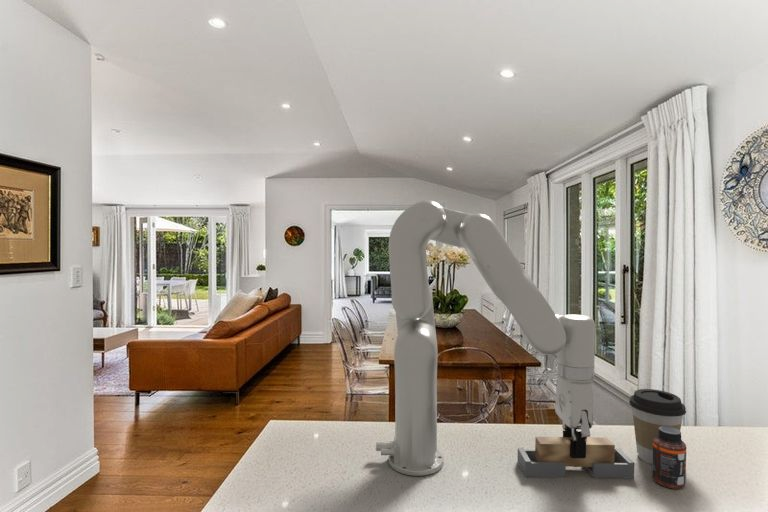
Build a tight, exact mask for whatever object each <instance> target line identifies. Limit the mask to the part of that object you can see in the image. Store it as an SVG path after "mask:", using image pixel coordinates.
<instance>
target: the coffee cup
mask: <svg viewBox="0 0 768 512" xmlns="http://www.w3.org/2000/svg"><path fill="white" fill-rule="evenodd" d="M628 403H629V405H630V406H631V409H632V419H633V427H634V436H635V445H636V453H637V455H638V458H639V459H640V460H641V461H642V462H644V463H646V464H650V465H652V463H653V439H654V437H656V436H658V435H659V434H658V432H659V427H662V426H667V427H672V428H676V429H678V430H679V431H681V428H682V423H683V418H684V415H686V414H687V410H686V406H685V404H684V403H682V399H681V398H680V397H679V396H678V395H677V394H674V393H672V392H668V391H663V390H659V389H652V388H641V389H639V388H638V389H637V390H635V391H634V392H633V394H632V395H631V396H630V397H629V401H628Z"/></svg>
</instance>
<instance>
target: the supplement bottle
mask: <svg viewBox="0 0 768 512" xmlns="http://www.w3.org/2000/svg"><path fill="white" fill-rule="evenodd" d="M658 434H659V435H658V436H656V437H654V439H653V463H652V464H651V465H652V467H651V468H652V469H651V475H652V479H653V480H654V481H655V482H656V483H657V484H659V485H660V486H662V487H665V488H668V489H673V490H681V489H683V488H684V487H685V486H686V481H687V479H686V476H687V445H686V444H687V443H685V442H684V441H683V440H682V431H681V430H680V431H679V430H678V429H676V428H672V427H667V426H662V427H659V432H658Z"/></svg>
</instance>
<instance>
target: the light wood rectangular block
mask: <svg viewBox="0 0 768 512" xmlns="http://www.w3.org/2000/svg"><path fill="white" fill-rule="evenodd" d="M570 439H572V437H563V436H535V443H534V444H535V445H534V447H535V449H534V450H535V459H536V460H537V462H565V463H566V468H567V467H568V468H569V467H572V468H585V467H593V463H614V455H615V449H616V447H615V446H616V445H615V444H614V443H613V442H612V441H611V440H610V439H609V438H608V437H593V436H592V437H591V436H590V437H587V441H586V458H571V457H570Z"/></svg>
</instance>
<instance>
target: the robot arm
mask: <svg viewBox="0 0 768 512" xmlns="http://www.w3.org/2000/svg"><path fill="white" fill-rule="evenodd" d="M501 232H502V231H500V229H499V228H498V225H497V224H496V223H495V221H494V220H493V219H492V218H491V217H490V216H488V215H486V214H484V213H473V214H472V213H468V212H464V211H463V212H462V211H459V210H455V209H451V208H447V207H443V206H442V205H440V204H439V203H438V202H437V201H434V200H430V199H424V200H419V201H416V202H415V203H413V204H411V205H409V207H407V208H406V209H405V210H404V211H403V212H401V214H400V215H399V216H398V217H397V219H396V220H395V222H394V223H393V225H392V227H391V230H390V234H389V237H388V260H389V276H390V277H389V278H390V288H391V290H390V291H391V304H392V305H391V306H392V308H393V310H394V312H395V318H396V327H397V330H396V331H397V336H396V339H395V342H394V343H395V344H394V352H393V355H394V357H393V358H394V359H393V361H394V362H393V363H394V387H395V388H394V390H395V391H394V396H395V397H394V399H395V400H394V401H395V404H394V405H395V406H394V407H395V408H394V409H395V411H394V413H395V417H394V419H395V426H394V427H395V436H394V437H393V440H392V441H390V440H389V442H382V441H379V442H377V441H376V442H375V452H380V455H381V456H388V464H389V466H390V467H391V468H392V469H394V471H396V472H398V473H401V474H404V475H407V476H412V477H415V476H416V477H417V476H418V477H420V476H422V477H424V476H429V475H432V474H434V473H436V472H438V471H440V470H441V469H442V468H443V466H444V456H443V454H442V453H441V452H440V451H439V450H438V449H437V446H438V445H437V443H438V440H437V439H438V437H437V433H438V432H437V431H438V429H437V427H438V425H437V424H438V412H437V411H438V377H437V376H438V355H439V354H438V353H439V351H438V350H439V349H438V340H437V332H436V319H435V312H434V301H433V299H434V298H433V290H432V288H431V286H430V284H429V274H428V273H429V271H428V259H427V246H428V244H429V241H430V240H431V241H434V242H438V243H442V244H446V245H450V246H452V247H456V248H457V247H458V248H462V249H465V251H466V253H467V254H468V256H469V258H470V259H471V260H472V262H473V264H474V265H475V267H476V268H477V270H478V271H479V273H480V274H481V276H482V278H483V280H484V281H485V283H486V285H488V287H489V288H490V290H491V291H492V292H493V294H494V295H495V297H497V298H498V300H499V301H500V302H501V303H502V304H503V305H504V306H505V307H506V308H507V310H508V311H509V313H510V314H511V316H512V318H514V320H515V322H516V324H518V326H519V331H520V334H521V336H522V338H523V340H525V341H526V343H527V344H529V345H530V347H531V348H533V350H534V351H535V352H537V353H539V354H540V355H544V356H551V355H552V356H553V355H556V354H557V358H556V360H557V362H556V363H557V364H556V365H557V366H556V367H557V368H556V377H557V380H556V387H555V389H556V390H555V404H554V405H555V406H554V408H555V409H554V411H555V414H556V415H557V416H558V417H559V418H560V419H561V421H562V425H561V427H562V437H572V439H570V457H571V458H586V441H587V437H591V430H590V429H592V427H593V424H594V397H593V394H594V392H593V385H592V383H593V382H595V359H596V358H595V353H596V351H595V350H596V323H595V320H594V319H593V318H592V317H591V316H587V315H585V314H573V313H572V314H570V313H569V314H564V315H563V314H560V315H559V314H556V313H555V311H554V310H553V309H552V307H551V305H550V304H549V302H548V301H547V300H546V298H545V297H544V295H543V294H542V292H541V291H540V289H539V287H537V286H536V284H535V283H534V281H533V279H532V278H531V276H530V275H529V273H528V272H527V270H526V269H525V268H524V266H523V265H522V263H521V262H520V261H519V258H518V257H517V255H516V254H515V253H514V251H513V250H512V248H511V246H510V245H509V243H508V241H507V240H506V239H505V237H504V235H503V234H502V233H501ZM578 430H580V431H578Z"/></svg>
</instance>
